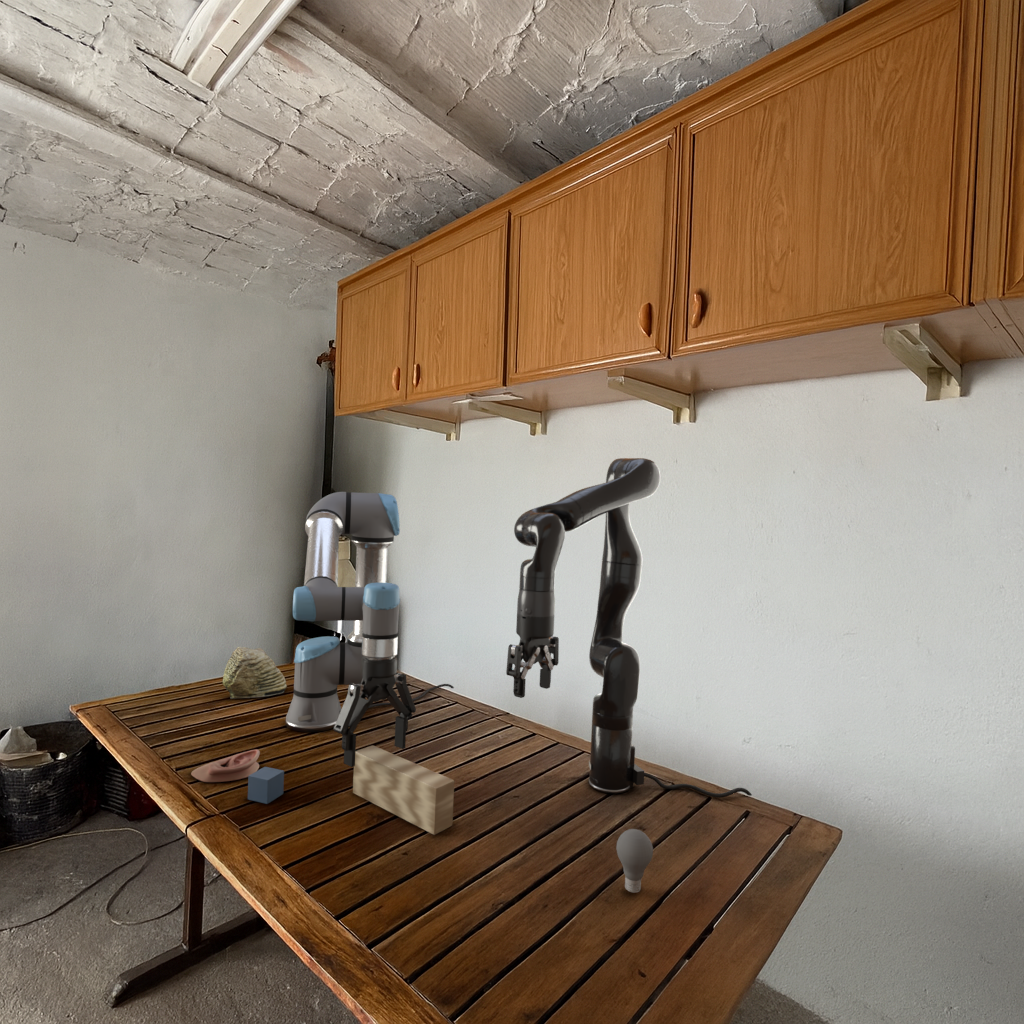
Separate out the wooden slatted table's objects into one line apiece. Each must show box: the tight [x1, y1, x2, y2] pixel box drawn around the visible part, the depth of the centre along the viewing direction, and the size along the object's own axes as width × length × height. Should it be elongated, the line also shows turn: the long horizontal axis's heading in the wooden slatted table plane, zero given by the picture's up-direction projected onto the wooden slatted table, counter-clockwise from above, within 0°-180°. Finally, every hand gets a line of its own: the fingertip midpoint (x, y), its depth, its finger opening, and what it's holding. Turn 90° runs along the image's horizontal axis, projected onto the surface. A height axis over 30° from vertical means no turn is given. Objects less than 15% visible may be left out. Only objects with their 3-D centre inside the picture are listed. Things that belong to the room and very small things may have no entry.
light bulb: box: [615, 828, 654, 894], centre depth 106 cm, size 6×6×10 cm
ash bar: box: [352, 744, 455, 836], centre depth 130 cm, size 25×5×9 cm, turn 51°
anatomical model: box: [190, 748, 261, 783], centre depth 143 cm, size 13×4×12 cm
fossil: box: [222, 646, 288, 699], centre depth 198 cm, size 9×18×15 cm, turn 132°
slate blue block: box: [247, 766, 285, 805], centre depth 133 cm, size 5×5×5 cm
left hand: (375, 755), depth 135 cm, fingers open, 13 cm apart
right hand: (532, 692), depth 127 cm, fingers open, 8 cm apart
